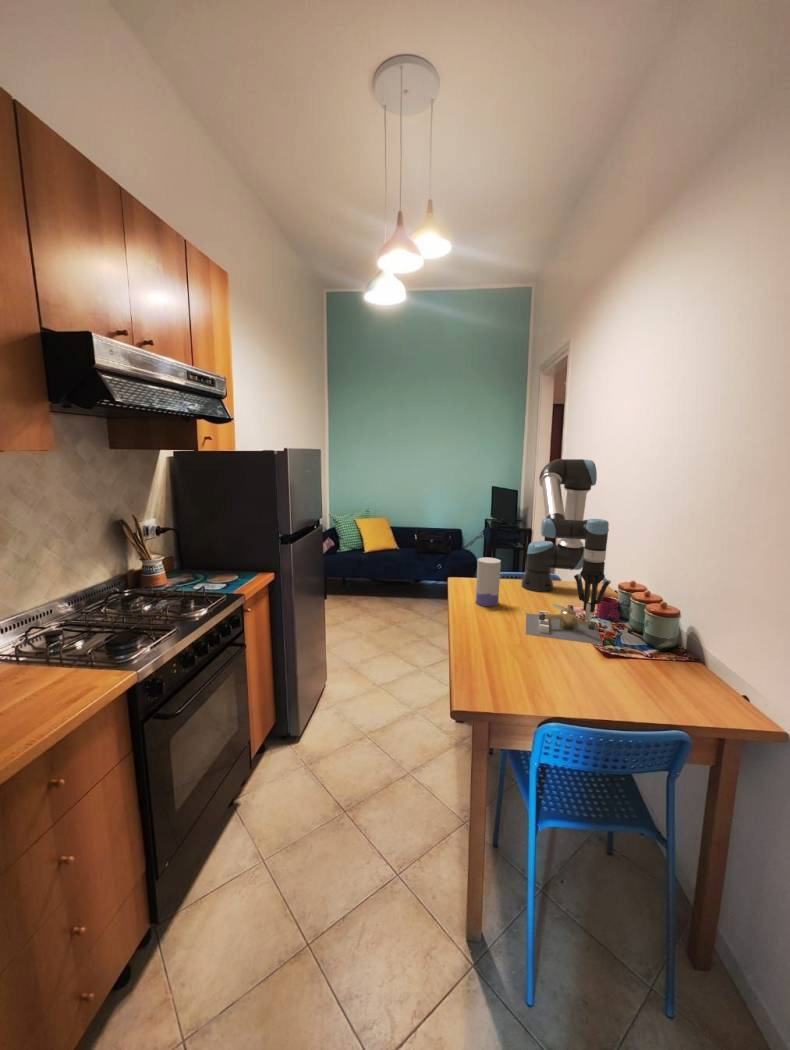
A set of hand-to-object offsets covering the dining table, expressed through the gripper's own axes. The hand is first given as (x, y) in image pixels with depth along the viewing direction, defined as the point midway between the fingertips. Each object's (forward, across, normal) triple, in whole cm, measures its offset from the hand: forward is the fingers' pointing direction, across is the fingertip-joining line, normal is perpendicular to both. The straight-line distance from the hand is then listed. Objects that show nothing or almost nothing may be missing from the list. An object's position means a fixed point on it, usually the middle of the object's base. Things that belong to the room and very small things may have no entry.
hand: (588, 619), depth 165 cm
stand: (+4, -7, -9) cm, 12 cm away
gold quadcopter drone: (+2, -3, -8) cm, 9 cm away
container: (+4, -43, -3) cm, 43 cm away
